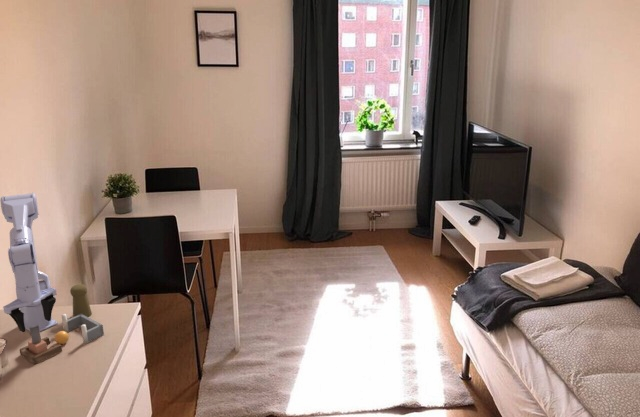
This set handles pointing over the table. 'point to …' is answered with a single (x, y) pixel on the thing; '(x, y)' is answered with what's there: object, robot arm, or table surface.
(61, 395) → the table surface
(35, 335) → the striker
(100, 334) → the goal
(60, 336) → the ball
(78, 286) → the olive green tapered cylinder
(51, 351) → the rail frame
